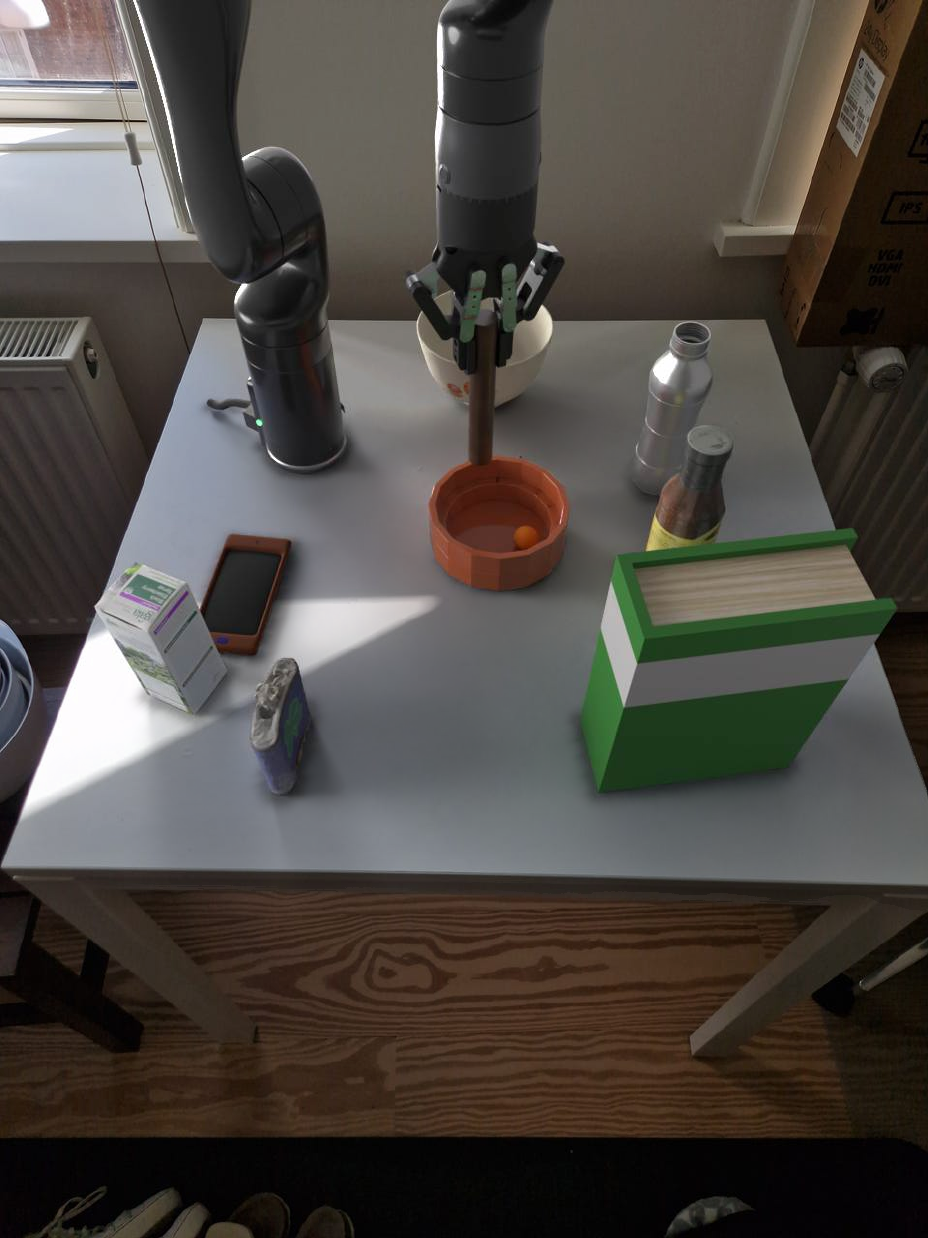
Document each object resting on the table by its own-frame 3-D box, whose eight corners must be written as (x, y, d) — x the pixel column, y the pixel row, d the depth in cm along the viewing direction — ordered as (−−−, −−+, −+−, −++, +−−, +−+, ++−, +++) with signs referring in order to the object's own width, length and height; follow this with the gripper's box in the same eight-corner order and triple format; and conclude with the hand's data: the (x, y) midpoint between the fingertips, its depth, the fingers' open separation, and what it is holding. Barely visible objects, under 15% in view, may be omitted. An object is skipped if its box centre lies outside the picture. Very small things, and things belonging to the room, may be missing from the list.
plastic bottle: (619, 493, 97) (650, 345, 81) (635, 455, 101) (668, 306, 85) (675, 509, 96) (717, 361, 80) (689, 469, 100) (732, 320, 83)
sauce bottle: (696, 615, 87) (748, 474, 71) (634, 605, 88) (672, 463, 72) (698, 566, 91) (748, 422, 75) (640, 557, 92) (677, 413, 76)
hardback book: (760, 697, 82) (852, 527, 62) (788, 767, 77) (897, 608, 58) (579, 720, 80) (616, 554, 61) (598, 792, 76) (644, 639, 56)
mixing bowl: (405, 556, 92) (401, 518, 87) (478, 477, 99) (479, 438, 94) (518, 616, 87) (521, 580, 82) (587, 529, 94) (594, 491, 89)
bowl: (394, 403, 106) (388, 334, 98) (467, 338, 114) (467, 269, 106) (501, 454, 101) (505, 386, 93) (570, 382, 109) (579, 313, 101)
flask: (292, 798, 75) (270, 740, 67) (260, 794, 76) (233, 736, 67) (315, 708, 81) (297, 644, 72) (285, 704, 81) (263, 640, 72)
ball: (508, 547, 92) (508, 528, 90) (527, 536, 93) (526, 517, 91) (524, 558, 90) (524, 539, 88) (543, 547, 91) (542, 528, 89)
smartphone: (184, 645, 84) (227, 531, 92) (186, 650, 84) (229, 537, 93) (254, 652, 83) (291, 537, 92) (256, 658, 84) (293, 543, 93)
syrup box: (229, 671, 83) (190, 578, 72) (194, 719, 80) (147, 630, 68) (181, 650, 85) (135, 556, 73) (144, 697, 82) (90, 606, 70)
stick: (463, 459, 84) (464, 319, 72) (477, 445, 86) (480, 305, 73) (483, 469, 84) (487, 329, 71) (496, 455, 85) (503, 315, 72)
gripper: (553, 129, 65) (536, 324, 79) (380, 160, 62) (394, 357, 76) (596, 176, 61) (571, 373, 75) (413, 211, 58) (422, 410, 72)
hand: (482, 364), depth 76 cm, fingers closed on stick, 2 cm apart
